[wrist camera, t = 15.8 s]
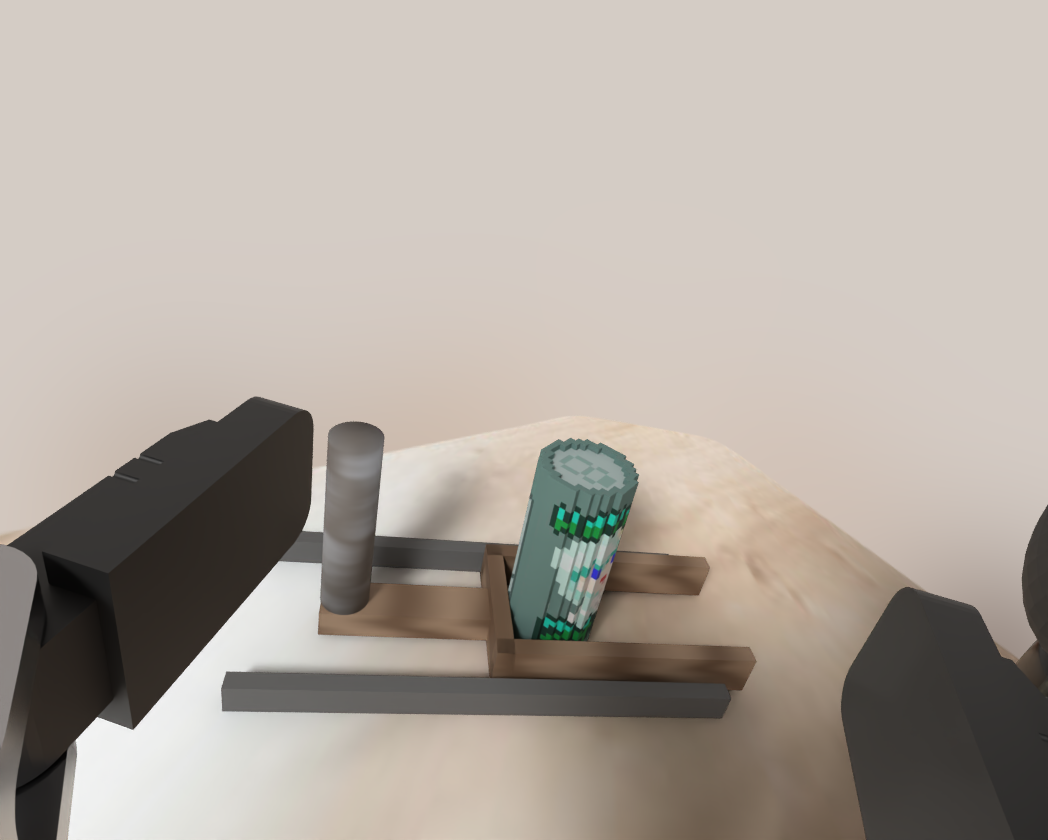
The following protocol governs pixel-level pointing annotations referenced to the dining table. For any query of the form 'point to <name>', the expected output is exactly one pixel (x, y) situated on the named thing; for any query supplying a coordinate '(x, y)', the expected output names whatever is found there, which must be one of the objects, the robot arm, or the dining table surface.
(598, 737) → the dining table surface
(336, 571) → the pull sled
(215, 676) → the dining table surface
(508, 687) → the lane rails
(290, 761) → the dining table surface
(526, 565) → the can
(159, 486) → the robot arm
